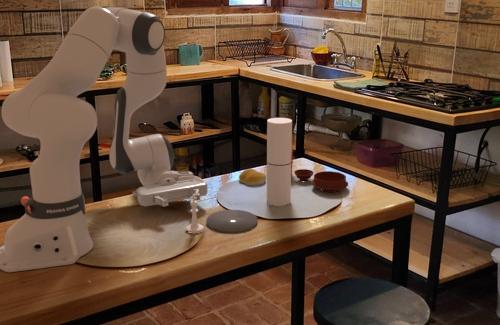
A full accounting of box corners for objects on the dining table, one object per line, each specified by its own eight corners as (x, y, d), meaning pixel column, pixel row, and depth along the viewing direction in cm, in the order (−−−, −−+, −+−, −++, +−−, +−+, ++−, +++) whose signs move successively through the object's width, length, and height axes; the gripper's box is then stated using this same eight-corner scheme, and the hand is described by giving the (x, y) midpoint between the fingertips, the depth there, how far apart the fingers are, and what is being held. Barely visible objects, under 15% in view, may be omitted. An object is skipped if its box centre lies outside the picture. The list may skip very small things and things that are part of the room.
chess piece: (190, 225, 154) (189, 190, 151) (207, 227, 152) (206, 192, 149) (182, 232, 149) (180, 197, 146) (199, 235, 148) (198, 199, 145)
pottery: (332, 198, 173) (332, 185, 171) (284, 182, 187) (284, 170, 185) (355, 189, 180) (356, 176, 179) (308, 174, 194) (308, 162, 193)
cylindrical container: (264, 204, 168) (264, 122, 160) (270, 196, 174) (270, 117, 166) (287, 207, 166) (289, 124, 158) (292, 198, 172) (294, 118, 165)
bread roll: (252, 188, 182) (252, 176, 181) (235, 181, 188) (235, 169, 187) (271, 182, 187) (271, 171, 186) (253, 175, 193) (253, 164, 192)
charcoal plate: (219, 236, 146) (219, 234, 146) (198, 217, 158) (198, 215, 158) (266, 226, 153) (266, 223, 152) (243, 208, 164) (243, 206, 164)
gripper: (130, 181, 162) (145, 196, 150) (196, 170, 171) (215, 184, 160) (131, 201, 164) (146, 218, 152) (196, 190, 173) (215, 205, 161)
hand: (182, 200), depth 156 cm, fingers open, 8 cm apart
